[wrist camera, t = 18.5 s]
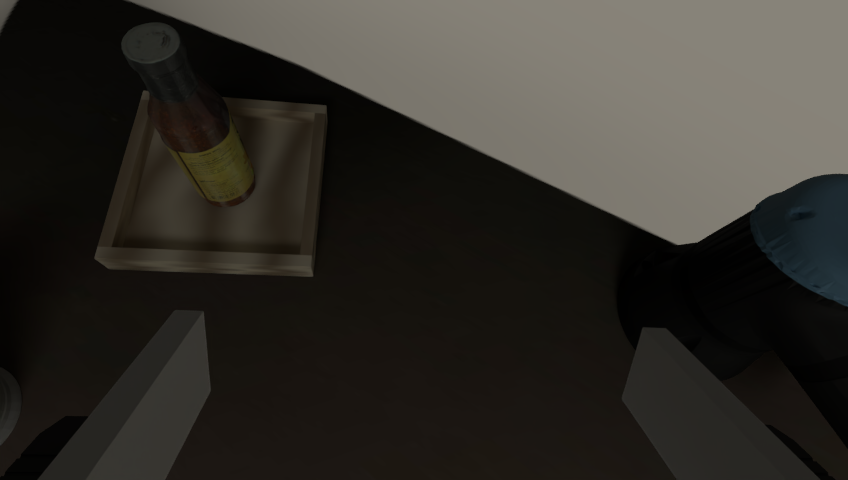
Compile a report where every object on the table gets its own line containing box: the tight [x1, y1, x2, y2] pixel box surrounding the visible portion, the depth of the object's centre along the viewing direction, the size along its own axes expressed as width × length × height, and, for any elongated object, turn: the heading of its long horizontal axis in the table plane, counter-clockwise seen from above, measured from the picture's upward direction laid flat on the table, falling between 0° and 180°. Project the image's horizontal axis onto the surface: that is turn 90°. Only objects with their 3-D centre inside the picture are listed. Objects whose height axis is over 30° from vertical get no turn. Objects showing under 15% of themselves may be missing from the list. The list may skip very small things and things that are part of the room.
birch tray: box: [95, 91, 328, 277], centre depth 51 cm, size 20×20×3 cm
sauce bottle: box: [121, 23, 255, 207], centre depth 43 cm, size 6×6×20 cm
